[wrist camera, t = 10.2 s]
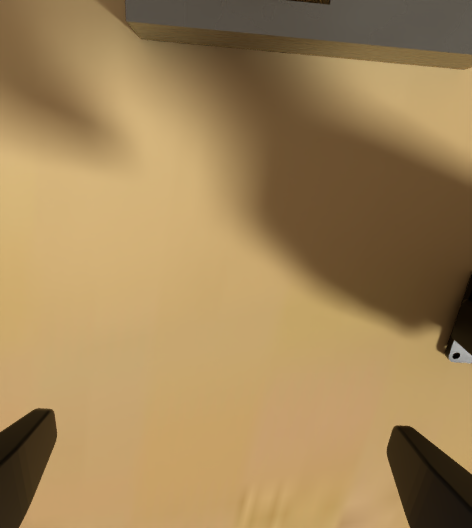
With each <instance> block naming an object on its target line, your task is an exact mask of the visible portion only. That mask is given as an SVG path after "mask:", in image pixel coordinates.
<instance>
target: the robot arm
mask: <svg viewBox="0 0 472 528" xmlns="http://www.w3.org/2000/svg"><path fill="white" fill-rule="evenodd" d="M454 353H456V354H455V355H453V354H454ZM445 356H446V357H447V358H448V359H449V360H450V361H451V362H459V363H472V275H471V278H470V281H469V284H468V287H467V290H466V292H465V295H464V298H463V301H462V304H461V307H460V310H459V313H458V316H457V319H456V322H455V325H454V328H453V331H452V333H451V336H450V339H449V342H448V345H447V348H446V351H445ZM56 438H57V429H56V421H55V414H54V411H53V410H52V409H42V408H38V409H34V410H33V411H31V412H30V413H28V414H27V415H25V416H24V417H22V418H21V419H19V420H18V421H16V422H15V423H13V424H12V425H10V426H9V427H7V428H6V429H4V430H3V431H1V432H0V528H19V526H20V525H21V523H22V521H23V519H24V517H25V515H26V513H27V510H28V508H29V506H30V504H31V502H32V499H33V497H34V495H35V492H36V490H37V487H38V485H39V482H40V480H41V477H42V475H43V472H44V470H45V467H46V465H47V462H48V460H49V457H50V455H51V452H52V450H53V447H54V445H55V442H56ZM387 457H388V461H389V464H390V467H391V470H392V473H393V477H394V480H395V483H396V486H397V489H398V493H399V496H400V499H401V502H402V505H403V509H404V512H405V515H406V518H407V521H408V523H409V526H410V528H472V474H471V473H469V472H468V471H467V470H465V469H464V468H463V467H462V466H460V465H459V464H458V463H457V462H455V461H454V460H453V459H452V458H450V457H449V456H448V455H447V454H445V453H444V452H443V451H441V450H440V449H439V448H438V447H436V446H435V445H434V444H433V443H431V442H430V441H429V440H428V439H426V438H425V437H424V436H422V435H421V434H420V433H419V432H417V431H416V430H415V429H414V428H412V427H410V426H398V425H397V426H395V427H394V428H393V430H392V433H391V436H390V439H389V443H388V446H387Z"/></svg>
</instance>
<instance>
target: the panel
mask: <svg viewBox="0 0 472 528" xmlns="http://www.w3.org/2000/svg"><path fill="white" fill-rule="evenodd" d="M125 5H126V22H127V23H128V24H129V25H130V27H131V28H132V29H133V30H134V31H135V32H136V34H137V35H138V36H139V37H140V38H141V39H145V40H156V41H167V42H177V43H188V44H198V45H209V46H220V47H230V48H241V49H251V50H262V51H273V52H283V53H294V54H304V55H315V56H326V57H336V58H347V59H357V60H368V61H379V62H389V63H400V64H410V65H421V66H432V67H442V68H453V69H463V70H464V69H468V68H471V67H472V0H318V3H308V2H298V1H288V0H125Z"/></svg>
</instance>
